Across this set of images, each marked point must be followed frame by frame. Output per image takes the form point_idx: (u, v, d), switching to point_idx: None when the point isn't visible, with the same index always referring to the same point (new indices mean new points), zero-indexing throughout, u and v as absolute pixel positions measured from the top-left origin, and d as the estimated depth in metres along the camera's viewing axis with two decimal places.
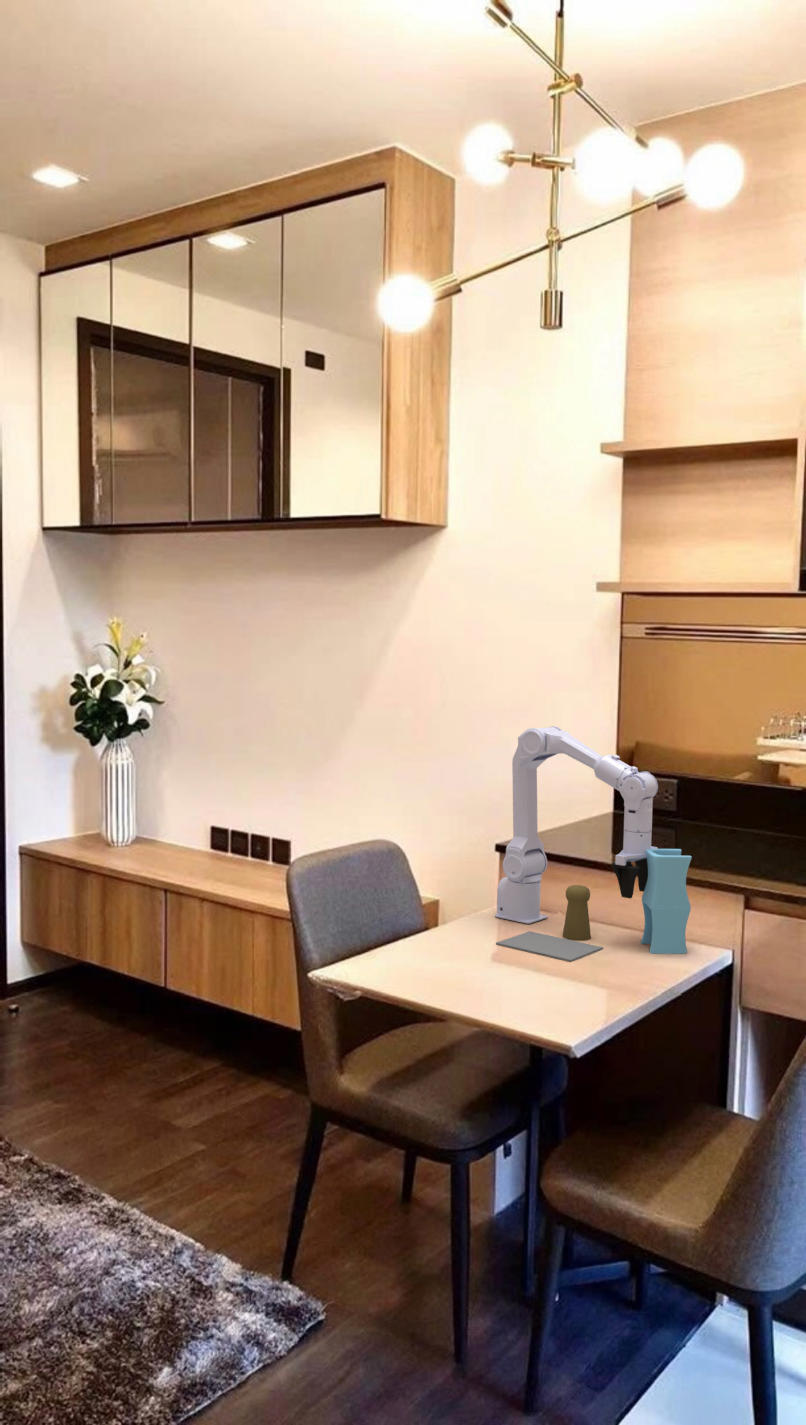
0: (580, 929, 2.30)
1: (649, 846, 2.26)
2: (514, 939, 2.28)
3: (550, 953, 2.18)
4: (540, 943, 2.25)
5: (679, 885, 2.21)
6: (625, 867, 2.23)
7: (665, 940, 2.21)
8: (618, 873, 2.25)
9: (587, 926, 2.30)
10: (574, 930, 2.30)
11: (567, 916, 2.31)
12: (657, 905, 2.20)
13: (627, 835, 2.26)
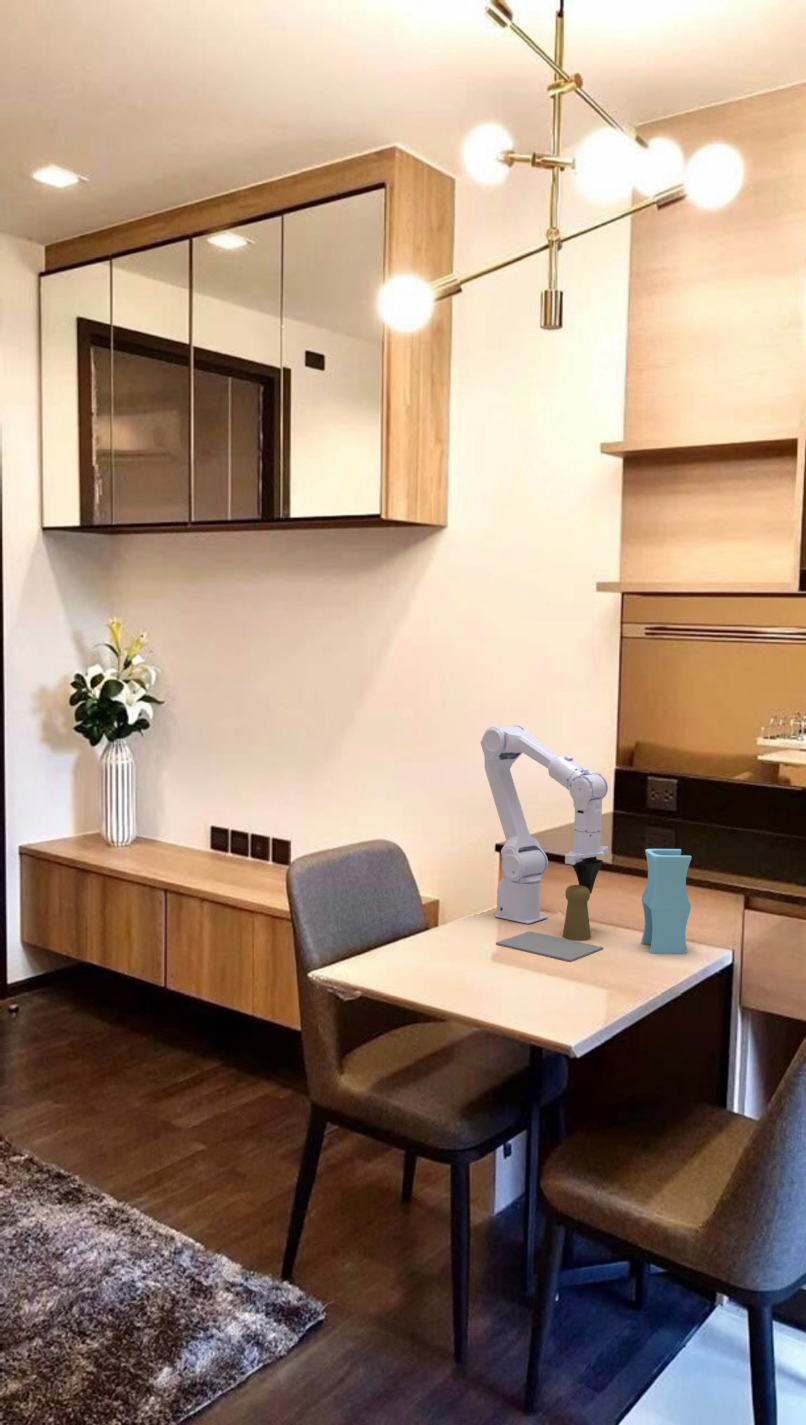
0: (580, 929, 2.30)
1: (598, 846, 2.32)
2: (514, 939, 2.28)
3: (550, 953, 2.18)
4: (540, 943, 2.25)
5: (679, 885, 2.21)
6: (583, 864, 2.31)
7: (665, 940, 2.21)
8: (577, 869, 2.33)
9: (587, 926, 2.30)
10: (574, 930, 2.30)
11: (567, 916, 2.31)
12: (657, 905, 2.20)
13: (577, 835, 2.32)
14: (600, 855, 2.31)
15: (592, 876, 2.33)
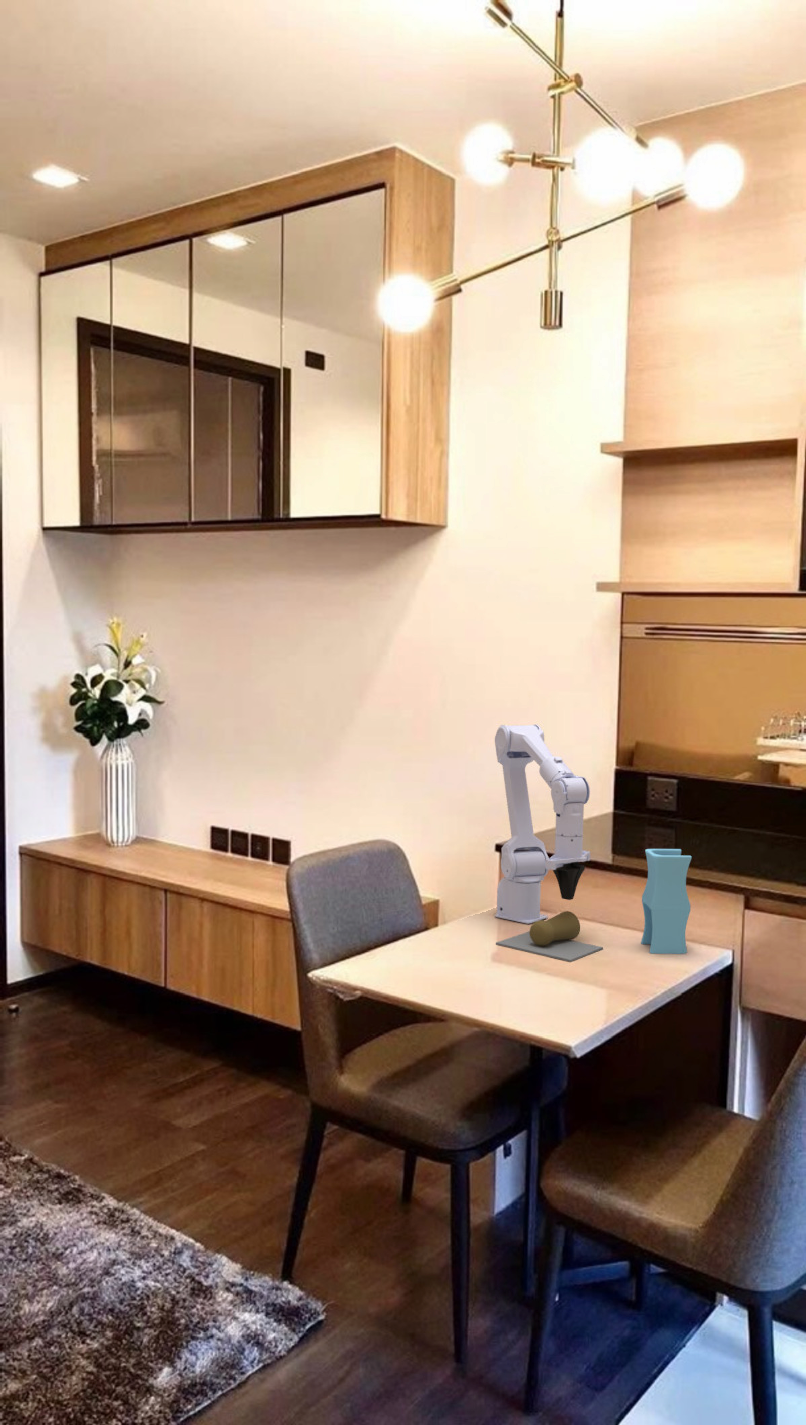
0: (570, 937, 2.27)
1: (580, 850, 2.26)
2: (514, 939, 2.28)
3: (550, 953, 2.18)
4: None
5: (679, 885, 2.21)
6: (564, 869, 2.26)
7: (665, 940, 2.21)
8: (558, 875, 2.28)
9: (571, 929, 2.26)
10: (566, 939, 2.28)
11: None
12: (657, 905, 2.20)
13: (558, 839, 2.26)
14: (581, 860, 2.25)
15: (573, 882, 2.27)
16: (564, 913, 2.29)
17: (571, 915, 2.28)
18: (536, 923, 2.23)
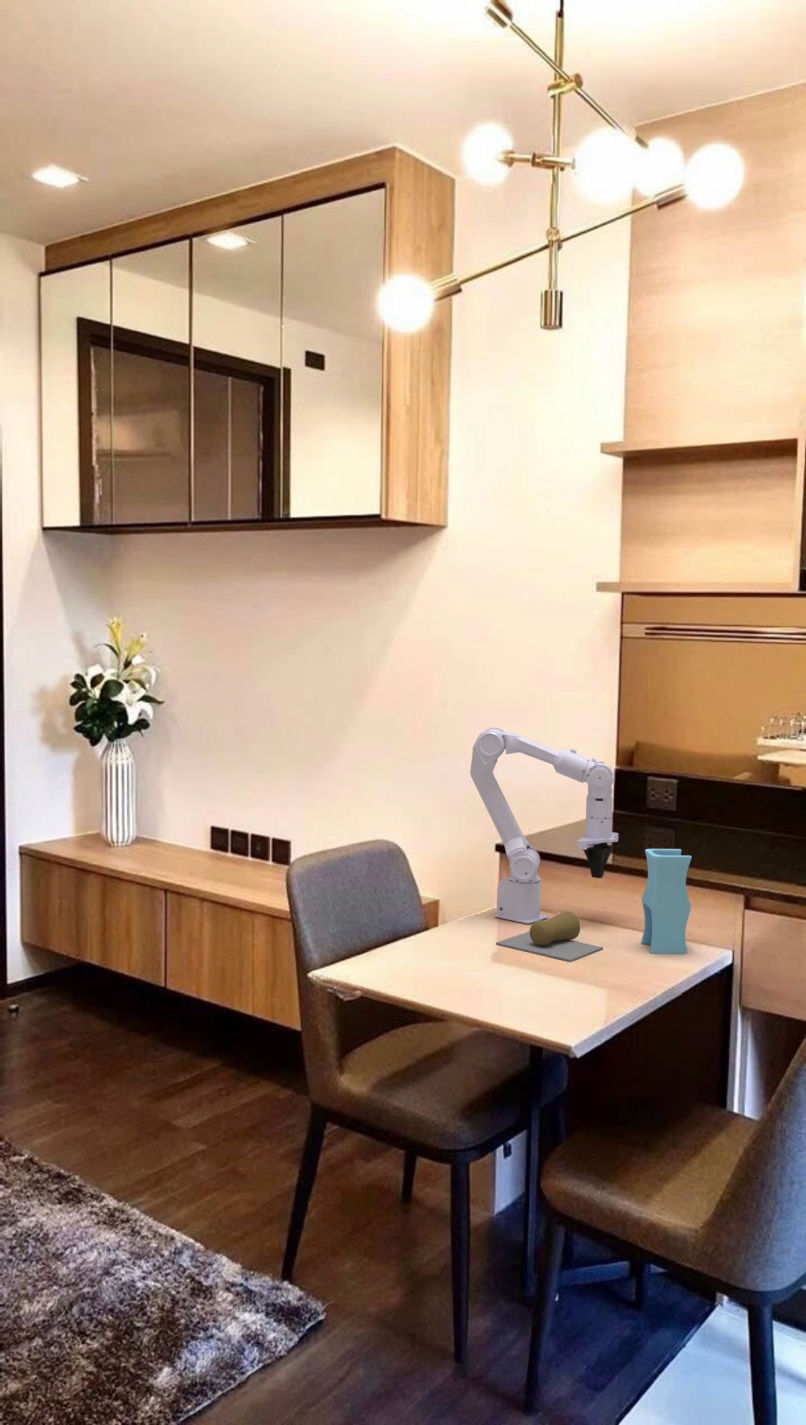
0: (570, 937, 2.27)
1: (609, 832, 2.41)
2: (514, 939, 2.28)
3: (550, 953, 2.18)
4: None
5: (679, 885, 2.21)
6: (594, 849, 2.41)
7: (665, 940, 2.21)
8: (588, 855, 2.43)
9: (571, 929, 2.26)
10: (566, 939, 2.28)
11: None
12: (657, 905, 2.20)
13: (589, 821, 2.41)
14: (611, 841, 2.40)
15: (603, 861, 2.42)
16: (564, 913, 2.29)
17: (571, 915, 2.28)
18: (536, 923, 2.23)
